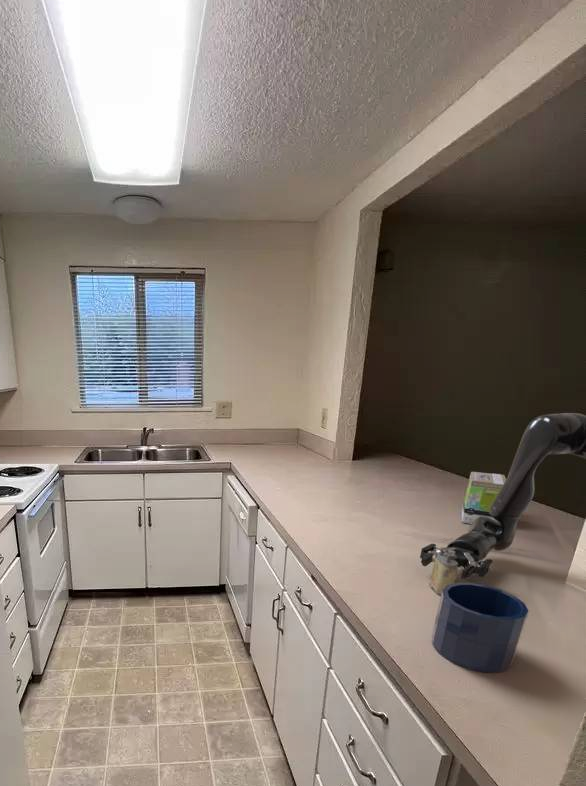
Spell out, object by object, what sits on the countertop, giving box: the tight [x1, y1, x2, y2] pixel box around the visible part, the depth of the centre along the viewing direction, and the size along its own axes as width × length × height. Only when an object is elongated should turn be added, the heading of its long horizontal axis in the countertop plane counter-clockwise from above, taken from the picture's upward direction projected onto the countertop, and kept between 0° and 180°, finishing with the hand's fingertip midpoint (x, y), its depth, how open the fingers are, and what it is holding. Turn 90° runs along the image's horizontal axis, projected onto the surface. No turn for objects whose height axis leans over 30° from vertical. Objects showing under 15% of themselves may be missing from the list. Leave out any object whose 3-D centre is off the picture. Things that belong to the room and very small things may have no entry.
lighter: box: [429, 546, 459, 596], centre depth 102 cm, size 7×4×10 cm, turn 171°
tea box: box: [461, 471, 507, 525], centre depth 145 cm, size 15×10×15 cm
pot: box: [431, 582, 530, 674], centre depth 80 cm, size 13×13×11 cm
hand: (443, 568), depth 101 cm, fingers open, 8 cm apart
